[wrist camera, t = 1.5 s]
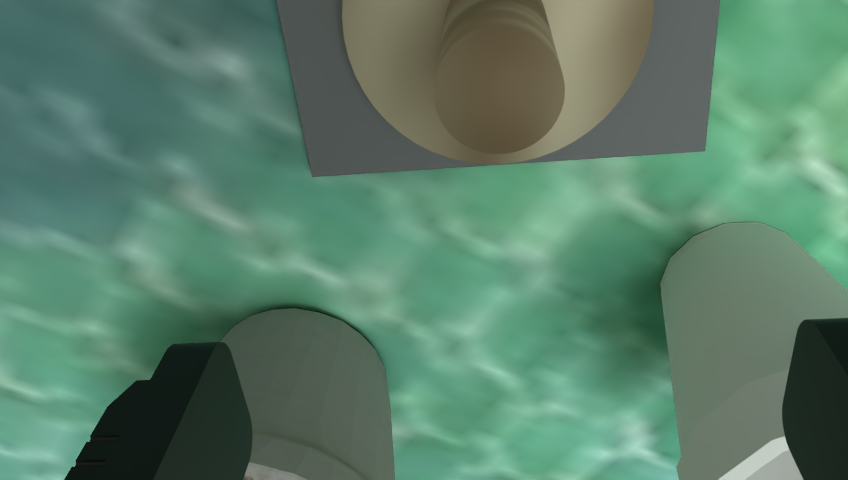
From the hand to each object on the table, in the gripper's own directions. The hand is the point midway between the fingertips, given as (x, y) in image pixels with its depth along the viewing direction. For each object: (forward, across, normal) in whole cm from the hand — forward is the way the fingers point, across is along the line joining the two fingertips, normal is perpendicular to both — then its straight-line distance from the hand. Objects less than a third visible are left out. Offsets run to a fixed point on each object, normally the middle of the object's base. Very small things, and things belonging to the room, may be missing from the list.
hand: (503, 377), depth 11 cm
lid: (+20, 0, 0) cm, 20 cm away
